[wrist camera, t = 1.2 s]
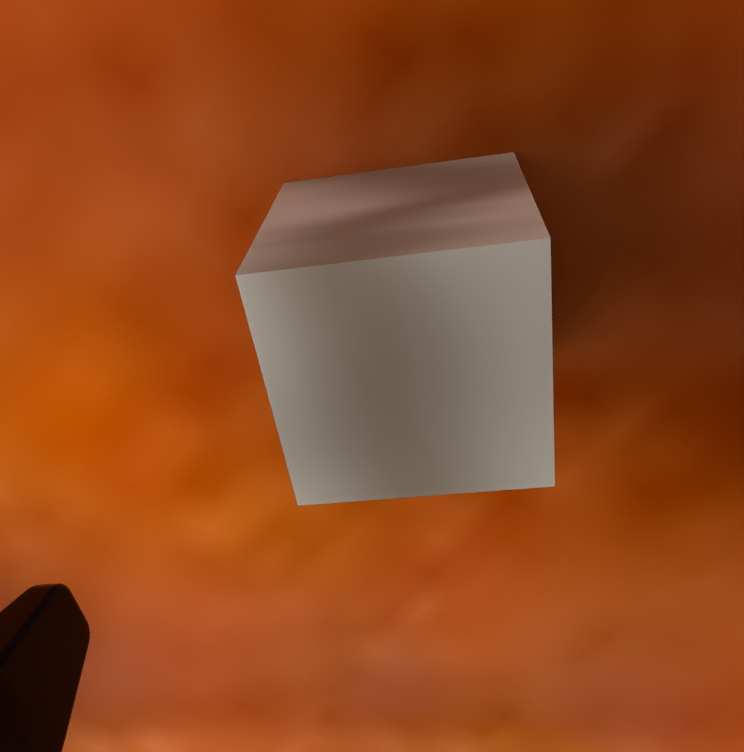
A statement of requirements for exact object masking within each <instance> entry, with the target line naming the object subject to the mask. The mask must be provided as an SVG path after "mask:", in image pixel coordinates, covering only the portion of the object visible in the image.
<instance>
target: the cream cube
mask: <svg viewBox="0 0 744 752" xmlns="http://www.w3.org/2000/svg"><path fill="white" fill-rule="evenodd" d="M235 277H236V280H237V284H238V288H239V291H240V295H241V299H242V302H243V306H244V310H245V313H246V317H247V321H248V324H249V328H250V332H251V335H252V339H253V343H254V346H255V350H256V354H257V357H258V361H259V365H260V368H261V372H262V376H263V379H264V383H265V387H266V390H267V394H268V398H269V401H270V405H271V409H272V412H273V416H274V419H275V423H276V427H277V430H278V434H279V438H280V441H281V445H282V449H283V452H284V456H285V460H286V463H287V467H288V471H289V474H290V478H291V482H292V485H293V489H294V493H295V496H296V500H297V504H298V506H300V505H313V504H326V503H340V502H353V501H366V500H380V499H393V498H406V497H419V496H433V495H446V494H459V493H472V492H486V491H499V490H512V489H526V488H539V487H552V486H555V462H554V405H553V348H552V291H551V238H550V235H549V233H548V231H547V228H546V226H545V224H544V221H543V219H542V217H541V214H540V212H539V210H538V207H537V205H536V203H535V200H534V198H533V196H532V193H531V191H530V189H529V186H528V184H527V182H526V179H525V177H524V175H523V172H522V170H521V168H520V165H519V163H518V161H517V158H516V156H515V154H514V152H510V153H503V154H495V155H488V156H480V157H473V158H465V159H458V160H451V161H443V162H436V163H428V164H421V165H414V166H406V167H399V168H391V169H384V170H376V171H369V172H362V173H354V174H347V175H339V176H332V177H325V178H317V179H310V180H302V181H295V182H287V183H284V184H283V186H282V188H281V190H280V191H279V193H278V195H277V197H276V199H275V201H274V203H273V205H272V207H271V208H270V210H269V212H268V214H267V216H266V218H265V220H264V222H263V224H262V225H261V227H260V229H259V231H258V233H257V235H256V237H255V239H254V241H253V242H252V244H251V246H250V248H249V250H248V252H247V254H246V256H245V258H244V260H243V261H242V263H241V265H240V267H239V269H238V271H237V273H236V275H235Z"/></svg>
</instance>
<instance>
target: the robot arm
mask: <svg viewBox="0 0 744 752" xmlns="http://www.w3.org/2000/svg"><path fill="white" fill-rule="evenodd" d="M89 638H90V631H89V625H88V622H87V620H86V618H85V616H84V615H83V613H82V611H81V609H80V607H79V605H78V604H77V602H76V600H75V598H74V596H73V594H72V593H71V591H70V589H69V588H68V587H67V586H65V585H64V584H44V585H36V586H33V587H31V588H29V589H28V590H26V591H25V592H24V593H23V594H21V595H20V596H19V597H18V598H17V599H15V600H14V601H13V602H12V603H11V604H9V605H8V606H7V607H6V608H4V609H3V610H2V611H1V612H0V752H62V748H63V745H64V741H65V738H66V734H67V729H68V725H69V721H70V717H71V713H72V709H73V705H74V701H75V697H76V693H77V689H78V685H79V681H80V677H81V673H82V669H83V665H84V661H85V657H86V653H87V649H88V645H89Z"/></svg>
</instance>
